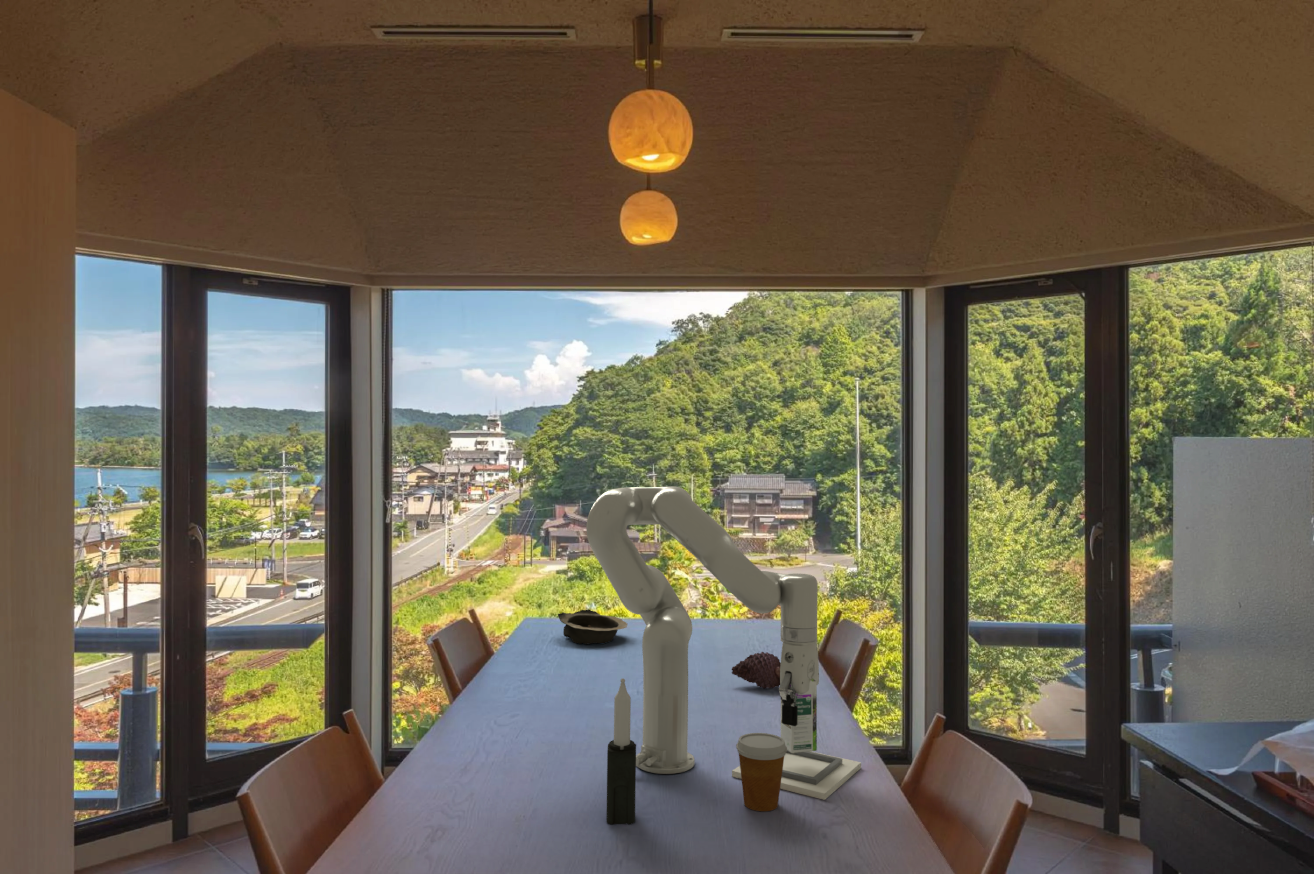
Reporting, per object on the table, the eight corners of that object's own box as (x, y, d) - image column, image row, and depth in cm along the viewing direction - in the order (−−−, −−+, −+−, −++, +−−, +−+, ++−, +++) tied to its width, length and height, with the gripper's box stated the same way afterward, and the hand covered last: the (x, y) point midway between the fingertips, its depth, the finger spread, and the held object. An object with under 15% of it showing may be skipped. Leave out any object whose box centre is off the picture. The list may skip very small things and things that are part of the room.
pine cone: (730, 691, 234) (731, 655, 234) (731, 682, 243) (732, 647, 244) (795, 694, 231) (795, 657, 232) (793, 684, 241) (794, 649, 242)
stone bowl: (549, 633, 304) (551, 607, 304) (616, 635, 311) (618, 610, 312) (562, 648, 280) (565, 620, 281) (634, 649, 288) (637, 622, 288)
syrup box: (791, 753, 171) (792, 682, 171) (779, 744, 177) (780, 674, 177) (817, 751, 172) (817, 680, 173) (804, 741, 178) (805, 673, 178)
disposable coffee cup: (725, 803, 158) (725, 739, 158) (757, 790, 165) (757, 728, 165) (765, 820, 151) (765, 752, 152) (796, 805, 158) (797, 740, 158)
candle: (634, 812, 154) (636, 674, 154) (635, 824, 149) (637, 682, 149) (606, 812, 154) (609, 674, 154) (606, 824, 149) (608, 682, 149)
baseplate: (824, 799, 161) (824, 788, 161) (731, 776, 172) (732, 765, 172) (861, 767, 177) (861, 757, 177) (774, 748, 188) (774, 738, 188)
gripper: (798, 644, 166) (797, 734, 165) (831, 629, 180) (831, 712, 180) (763, 639, 170) (763, 726, 169) (799, 625, 184) (798, 705, 184)
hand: (798, 718), depth 175 cm, fingers closed on syrup box, 7 cm apart
